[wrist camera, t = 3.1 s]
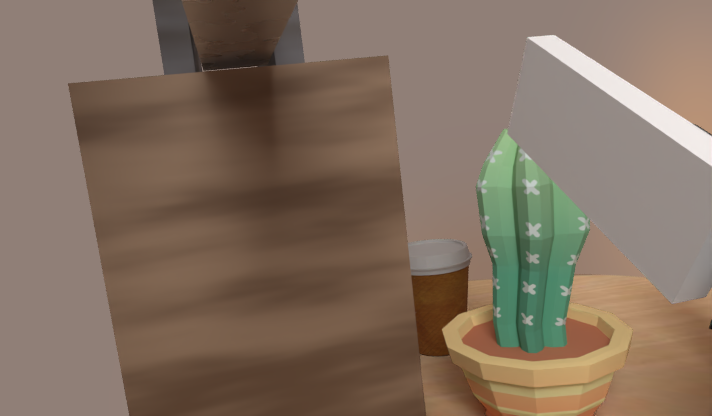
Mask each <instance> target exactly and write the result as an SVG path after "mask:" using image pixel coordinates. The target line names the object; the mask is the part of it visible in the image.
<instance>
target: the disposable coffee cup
mask: <svg viewBox="0 0 712 416" xmlns="http://www.w3.org/2000/svg"><path fill="white" fill-rule="evenodd" d="M408 250H409V259H410V269H411V278H412V288H413V298H414V307H415V317H416V326H417V336H418V345H419V353H420V354H424V355H429V356H442V355H449V351H448V348H447V344H446V341H445V338H444V335H443V331H442V329H443V328H444V327H445V326H446V325H447V324H448V323H450V322H451V321H452V320H453V319H454V318H455V317H456V316H457V315H459V314H461V313H464V312H467V297H468V296H467V295H468V268H469V264H470V260H471V258H472V254H471V253H470V252H469V250H468V247H467V244H466V243H465V242H463V241H459V240H451V239H433V240H423V241H416V242H411V243H408Z"/></svg>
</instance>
